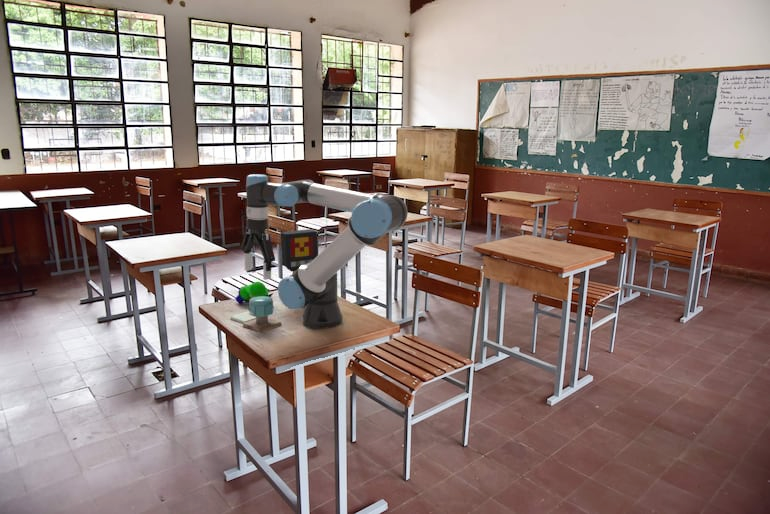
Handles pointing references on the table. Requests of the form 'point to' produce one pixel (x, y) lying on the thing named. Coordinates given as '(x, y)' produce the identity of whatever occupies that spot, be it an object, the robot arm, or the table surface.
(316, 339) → the table surface
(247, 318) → the mat
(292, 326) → the table surface
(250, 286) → the toy
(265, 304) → the cap
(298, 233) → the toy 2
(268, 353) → the table surface
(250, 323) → the post stand
